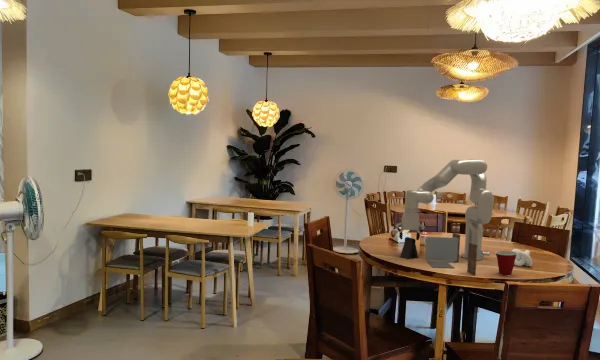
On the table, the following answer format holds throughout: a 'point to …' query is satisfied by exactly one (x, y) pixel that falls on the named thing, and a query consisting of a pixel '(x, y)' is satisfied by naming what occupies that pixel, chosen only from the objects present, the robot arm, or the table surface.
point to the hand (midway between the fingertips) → (409, 239)
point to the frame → (471, 255)
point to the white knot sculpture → (522, 258)
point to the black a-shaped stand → (409, 249)
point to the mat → (440, 265)
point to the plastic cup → (506, 261)
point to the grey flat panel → (441, 248)
